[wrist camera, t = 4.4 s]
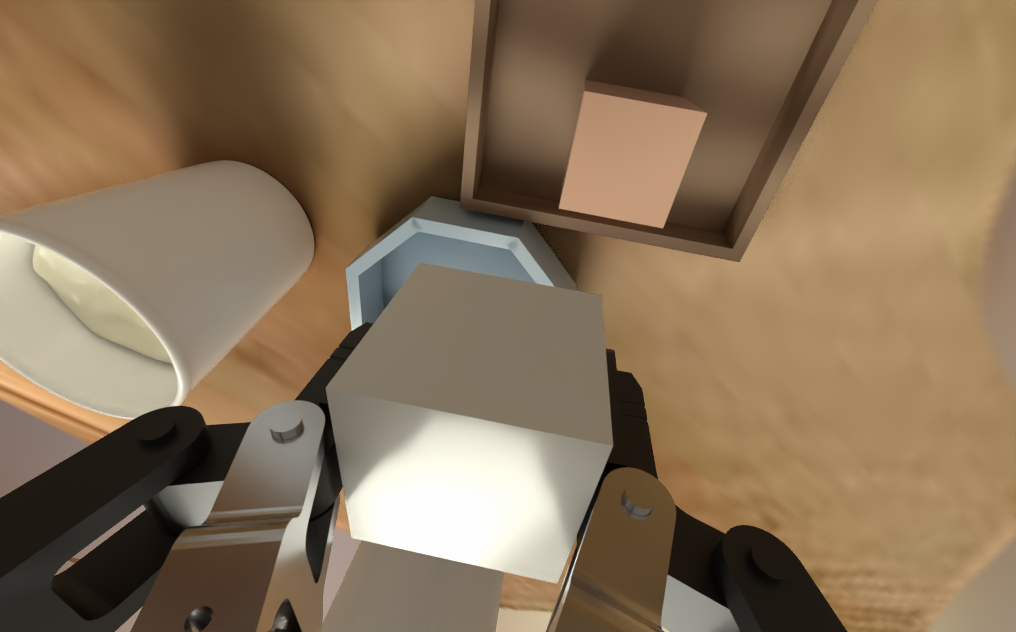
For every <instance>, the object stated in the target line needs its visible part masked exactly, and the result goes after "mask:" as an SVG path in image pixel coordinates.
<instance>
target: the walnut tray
mask: <svg viewBox="0 0 1016 632" xmlns="http://www.w3.org/2000/svg"><path fill="white" fill-rule="evenodd" d="M876 2H877V0H475V11H474V25H473V38H472V51H471V65H470V78H469V92H468V105H467V118H466V132H465V145H464V159H463V172H462V185H461V199H460V208H463V209H468V210H473V211H478V212H483V213H488V214H493V215H499V216H504V217H509V218H514V219H519V220H524V221H530V222H535V223H540V224H545V225H550V226H555V227H561V228H566V229H571V230H576V231H581V232H586V233H591V234H597V235H602V236H607V237H612V238H617V239H622V240H628V241H633V242H638V243H643V244H648V245H653V246H658V247H664V248H669V249H674V250H679V251H684V252H689V253H695V254H700V255H705V256H710V257H715V258H720V259H725V260H731V261H736V262H740V260H741V258H742V256H743V254H744V253H745V251H746V249H747V247H748V245H749V243H750V241H751V239H752V237H753V235H754V234H755V232H756V230H757V228H758V226H759V224H760V222H761V220H762V218H763V217H764V215H765V213H766V211H767V209H768V207H769V205H770V203H771V201H772V199H773V198H774V196H775V194H776V192H777V190H778V188H779V186H780V184H781V182H782V181H783V179H784V177H785V175H786V173H787V171H788V169H789V167H790V165H791V163H792V162H793V160H794V158H795V156H796V154H797V152H798V150H799V148H800V146H801V145H802V143H803V141H804V139H805V137H806V135H807V133H808V131H809V129H810V127H811V126H812V124H813V122H814V120H815V118H816V116H817V114H818V112H819V110H820V108H821V107H822V105H823V103H824V101H825V99H826V97H827V95H828V93H829V91H830V90H831V88H832V86H833V84H834V82H835V80H836V78H837V76H838V74H839V72H840V71H841V69H842V67H843V65H844V63H845V61H846V59H847V57H848V55H849V54H850V52H851V50H852V48H853V46H854V44H855V42H856V40H857V38H858V36H859V35H860V33H861V31H862V29H863V27H864V25H865V23H866V21H867V19H868V18H869V16H870V14H871V12H872V10H873V8H874V6H875V4H876ZM584 79H585V80H590V81H596V82H602V83H607V84H613V85H619V86H624V87H630V88H635V89H641V90H647V91H652V92H658V93H663V94H669V95H675V96H680V97H684V98H685V99H687V100H688V101H690V102H691V103H693V104H694V105H696V106H698V107H699V108H701V109H702V110H704V111H705V112H707V116H706V118H705V121H704V123H703V126H702V129H701V131H700V134H699V136H698V139H697V142H696V144H695V147H694V149H693V152H692V155H691V157H690V160H689V162H688V165H687V168H686V170H685V173H684V175H683V178H682V181H681V183H680V186H679V188H678V191H677V194H676V196H675V199H674V201H673V204H672V207H671V209H670V212H669V214H668V217H667V220H666V222H665V225H664V227H663V228H658V227H653V226H648V225H642V224H637V223H632V222H627V221H622V220H616V219H611V218H606V217H601V216H596V215H590V214H585V213H580V212H575V211H569V210H564V209H559V203H560V196H561V189H562V182H563V176H564V171H565V167H566V162H567V158H568V153H569V148H570V144H571V139H572V135H573V130H574V125H575V121H576V116H577V112H578V107H579V102H580V98H581V93H582V88H583V84H584Z"/></svg>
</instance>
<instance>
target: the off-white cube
mask: <svg viewBox="0 0 1016 632" xmlns="http://www.w3.org/2000/svg"><path fill="white" fill-rule="evenodd" d="M326 393H327V399H328V405H329V411H330V416H331V422H332V428H333V433H334V439H335V445H336V451H337V456H338V462H339V468H340V473H341V479H342V485H343V490H344V496H345V502H346V508H347V513H348V519H349V525H350V530H351V536H352V538H355V539H359V540H363V541H368V542H372V543H377V544H381V545H386V546H390V547H395V548H399V549H404V550H408V551H413V552H417V553H422V554H426V555H431V556H435V557H440V558H444V559H449V560H453V561H458V562H462V563H467V564H471V565H476V566H480V567H485V568H489V569H494V570H498V571H503V572H507V573H512V574H516V575H521V576H525V577H530V578H534V579H539V580H543V581H548V582H552V583H557V582H558V580H559V577H560V575H561V572H562V570H563V568H564V565H565V563H566V560H567V558H568V555H569V553H570V550H571V548H572V546H573V543H574V541H575V538H576V536H577V533H578V531H579V528H580V526H581V524H582V521H583V519H584V516H585V514H586V511H587V509H588V506H589V504H590V501H591V499H592V497H593V494H594V492H595V489H596V487H597V484H598V482H599V479H600V477H601V475H602V472H603V470H604V467H605V465H606V462H607V460H608V457H609V455H610V453H611V450H612V448H613V437H612V424H611V411H610V398H609V385H608V372H607V359H606V346H605V333H604V320H603V307H602V295H597V294H592V293H586V292H581V291H575V290H569V289H564V288H558V287H553V286H547V285H542V284H536V283H531V282H525V281H520V280H514V279H509V278H503V277H498V276H492V275H487V274H481V273H476V272H470V271H465V270H459V269H454V268H448V267H443V266H437V265H431V264H426V263H419V264H418V265H417V267H416V268H415V269H414V271H413V272H412V273H411V275H410V276H409V277H408V279H407V280H406V281H405V283H404V284H403V285H402V287H401V288H400V289H399V291H398V292H397V293H396V295H395V296H394V297H393V299H392V300H391V301H390V303H389V304H388V305H387V307H386V308H385V309H384V311H383V312H382V313H381V315H380V316H379V317H378V319H377V320H376V321H375V323H374V324H373V325H372V327H371V328H370V329H369V331H368V332H367V333H366V335H365V336H364V337H363V339H362V340H361V341H360V343H359V344H358V345H357V347H356V348H355V349H354V351H353V352H352V353H351V355H350V356H349V357H348V359H347V360H346V361H345V363H344V364H343V365H342V367H341V368H340V369H339V371H338V372H337V373H336V375H335V376H334V377H333V379H332V380H331V381H330V383H329V384H328V385H327V387H326Z"/></svg>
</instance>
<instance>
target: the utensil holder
mask: <svg viewBox="0 0 1016 632" xmlns="http://www.w3.org/2000/svg"><path fill="white" fill-rule="evenodd" d="M503 576H504V572H503V571H498V570H494V569H489V568H485V567H480V566H476V565H471V564H467V563H462V562H458V561H453V560H449V559H444V558H440V557H435V556H431V555H426V554H422V553H417V552H413V551H408V550H404V549H399V548H395V547H390V546H386V545H381V544H377V543H372V542H368V541H363V540H362V541H361V543H360V545H359V547H358V549H357V551H356V553H355V555H354V558H353V560H352V562H351V564H350V566H349V568H348V571H347V573H346V575H345V577H344V579H343V582H342V584H341V586H340V588H339V590H338V592H337V594H336V596H335V598H334V601H333V603H332V605H331V607H330V609H329V611H328V613H327V615H326V617H325V619H324V621H323V623H322V631H321V632H495V631H496V624H497V618H498V611H499V605H500V598H501V592H502V584H503Z"/></svg>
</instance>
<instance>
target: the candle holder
mask: <svg viewBox="0 0 1016 632" xmlns="http://www.w3.org/2000/svg"><path fill="white" fill-rule="evenodd" d="M314 248H315V245H314V236H313V231H312V228H311V225H310V222H309V220H308V218H307V216H306V214H305V212H304V210H303V209H302V207H301V206H300V204H299V203H298V201H297V200H296V199H295V197H294V196H293V195H292V194H291V193H290V192H289V191H288V190H287V189H286V188H285V187H284V186H283V185H282V184H281V183H280V182H278V181H277V180H276V179H275V178H273V177H272V176H270V175H269V174H267V173H266V172H264V171H262V170H260V169H258V168H256V167H254V166H251V165H249V164H246V163H242V162H238V161H231V160H219V161H211V162H206V163H202V164H197V165H193V166H189V167H185V168H181V169H177V170H173V171H169V172H165V173H161V174H157V175H153V176H149V177H145V178H142V179H138V180H134V181H130V182H126V183H122V184H118V185H114V186H110V187H107V188H103V189H99V190H95V191H91V192H87V193H83V194H79V195H75V196H72V197H68V198H64V199H60V200H56V201H52V202H48V203H44V204H40V205H36V206H33V207H29V208H25V209H21V210H17V211H13V212H9V213H5V214H1V215H0V360H2V361H3V362H4V363H6V364H7V365H8V366H10V367H11V368H12V369H14V370H15V371H17V372H18V373H20V374H21V375H22V376H24V377H26V378H27V379H29V380H30V381H32V382H33V383H35V384H37V385H38V386H40V387H42V388H44V389H45V390H47V391H49V392H51V393H53V394H55V395H57V396H59V397H61V398H63V399H65V400H67V401H69V402H72V403H74V404H76V405H79V406H81V407H84V408H86V409H89V410H92V411H95V412H98V413H102V414H105V415H109V416H113V417H118V418H124V419H135V418H137V417H139V416H141V415H143V414H145V413H148V412H150V411H153V410H156V409H160V408H164V407H170V406H180V405H181V404H182V402H183V401H184V400H185V398H186V397H187V395H188V394H189V393H190V392H191V391H192V390H193V389H194V388H195V387H196V386H197V385H198V384H199V383H200V382H201V381H202V379H203V378H204V377H205V376H206V375H207V374H208V373H209V372H210V371H211V370H212V369H213V368H214V367H215V366H216V365H217V364H218V363H219V362H220V361H221V360H222V359H223V358H224V357H225V356H226V355H227V354H228V353H229V352H230V351H231V350H232V349H233V348H234V347H235V346H236V345H237V344H238V343H239V341H240V340H241V339H242V338H243V337H244V336H245V335H246V334H247V333H248V332H249V331H250V330H251V329H252V328H253V327H254V326H255V325H256V324H257V323H258V322H259V321H260V320H261V319H262V318H263V317H264V316H265V315H266V314H267V313H268V312H269V311H270V310H271V309H272V308H273V307H274V306H275V305H276V303H277V302H278V301H279V300H280V299H281V298H282V297H283V296H284V295H285V294H286V293H287V292H288V291H289V290H290V289H291V288H292V287H293V286H294V285H295V284H296V283H297V282H298V280H299V279H300V278H301V277H302V276H303V275H304V274H305V272H306V271H307V270H308V268H309V266H310V265H311V262H312V260H313V256H314Z"/></svg>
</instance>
